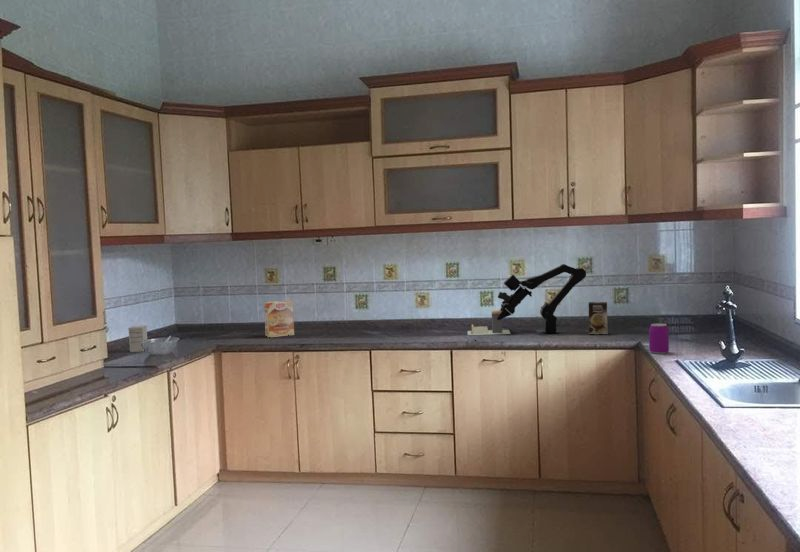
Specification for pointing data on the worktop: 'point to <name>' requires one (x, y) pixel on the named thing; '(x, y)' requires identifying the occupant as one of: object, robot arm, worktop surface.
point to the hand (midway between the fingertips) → (497, 318)
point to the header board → (484, 331)
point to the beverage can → (659, 338)
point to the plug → (496, 322)
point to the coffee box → (597, 317)
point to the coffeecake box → (279, 318)
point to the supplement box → (137, 337)
